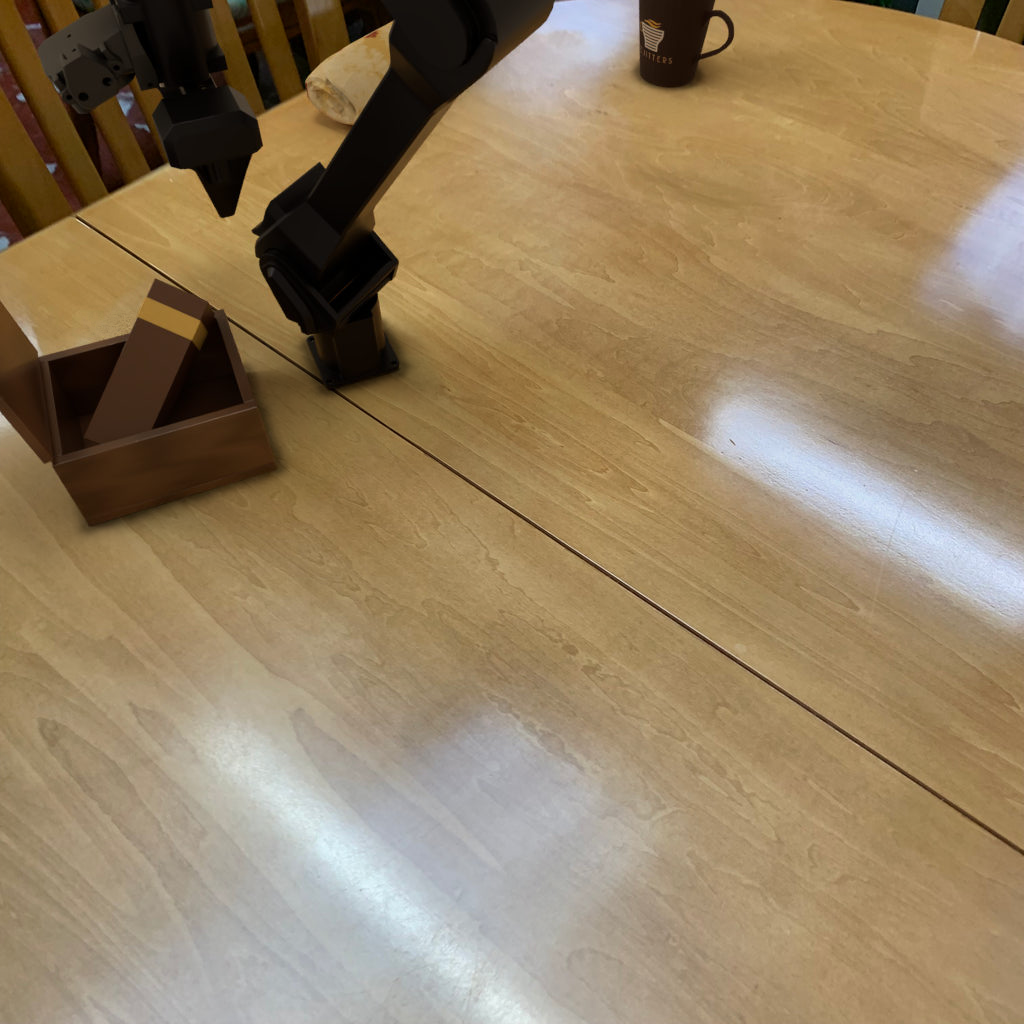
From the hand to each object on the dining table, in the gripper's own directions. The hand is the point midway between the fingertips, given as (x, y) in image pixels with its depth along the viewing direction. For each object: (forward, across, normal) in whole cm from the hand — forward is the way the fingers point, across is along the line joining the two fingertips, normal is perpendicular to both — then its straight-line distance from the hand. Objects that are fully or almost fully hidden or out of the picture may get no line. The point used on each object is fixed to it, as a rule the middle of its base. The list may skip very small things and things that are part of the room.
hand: (212, 182), depth 72 cm
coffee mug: (+13, -19, +55) cm, 59 cm away
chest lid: (-2, +12, -17) cm, 21 cm away
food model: (+10, -25, +16) cm, 31 cm away
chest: (+13, +13, -10) cm, 21 cm away
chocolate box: (+10, +15, -13) cm, 22 cm away
